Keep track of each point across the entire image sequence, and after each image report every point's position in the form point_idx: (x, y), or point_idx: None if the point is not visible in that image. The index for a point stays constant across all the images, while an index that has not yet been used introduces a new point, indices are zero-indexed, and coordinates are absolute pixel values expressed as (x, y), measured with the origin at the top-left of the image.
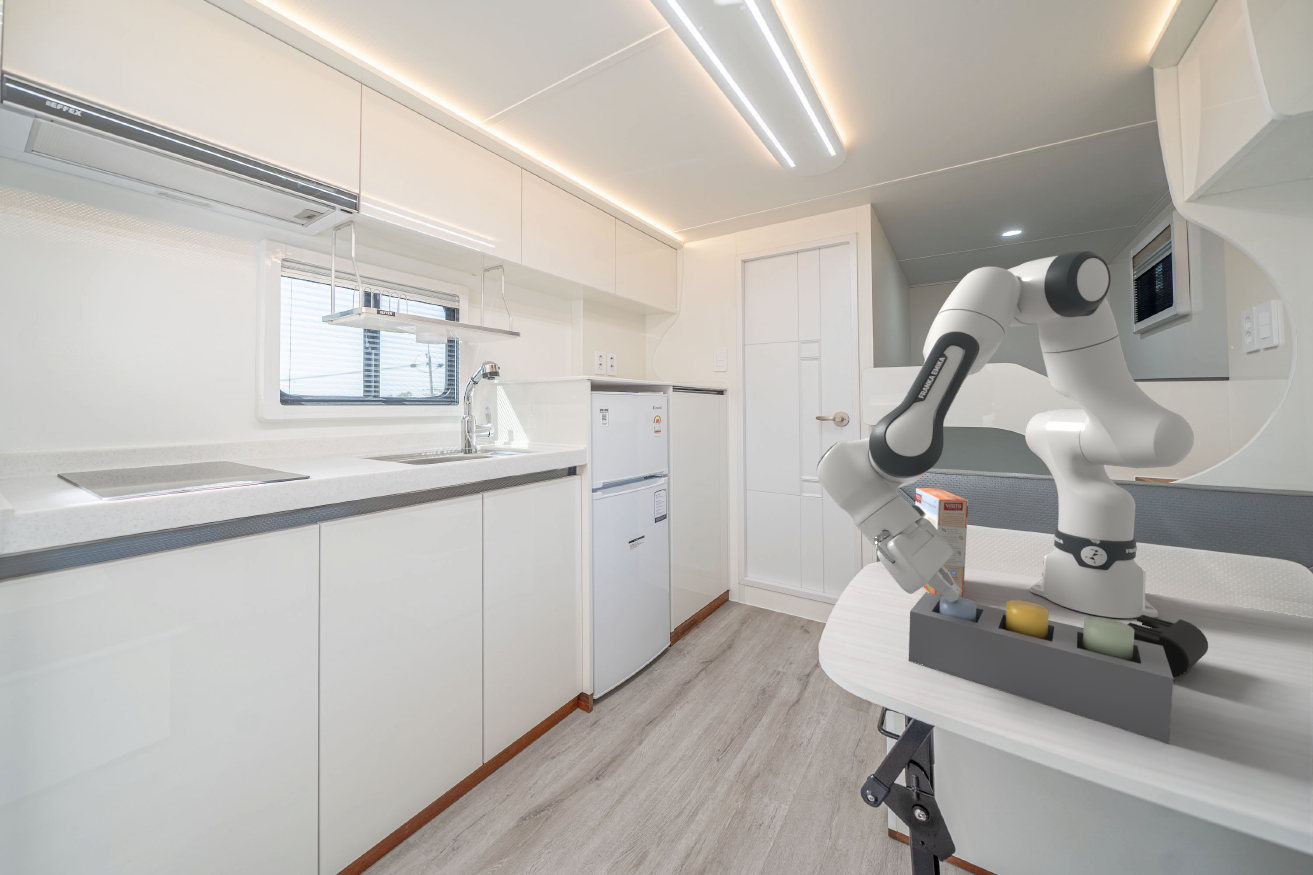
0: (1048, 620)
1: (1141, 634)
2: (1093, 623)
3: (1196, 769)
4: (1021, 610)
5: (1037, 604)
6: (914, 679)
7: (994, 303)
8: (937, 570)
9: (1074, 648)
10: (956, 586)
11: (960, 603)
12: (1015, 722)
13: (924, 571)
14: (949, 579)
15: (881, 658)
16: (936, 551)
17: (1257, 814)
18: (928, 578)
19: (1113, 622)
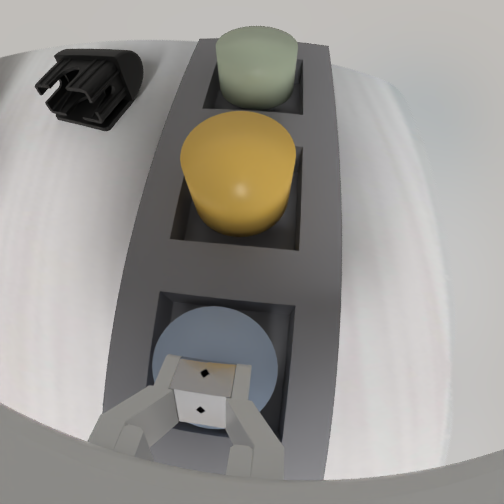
0: (160, 148)
1: (101, 76)
2: (269, 57)
3: (351, 107)
4: (285, 164)
5: (194, 131)
6: (371, 422)
7: None
8: (306, 482)
9: (310, 118)
10: (178, 376)
11: (225, 358)
12: (402, 261)
13: (491, 491)
14: (153, 408)
15: None
16: (45, 497)
17: (388, 94)
18: (494, 459)
19: (237, 38)
